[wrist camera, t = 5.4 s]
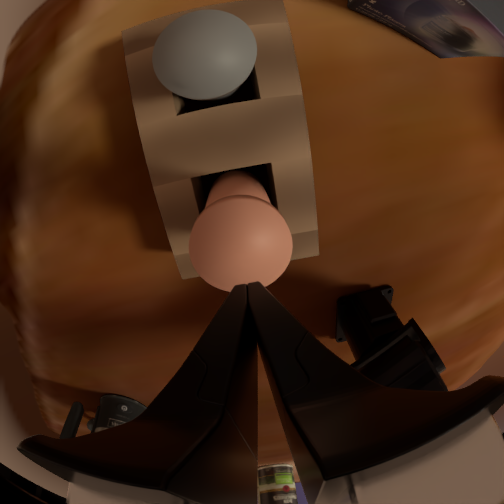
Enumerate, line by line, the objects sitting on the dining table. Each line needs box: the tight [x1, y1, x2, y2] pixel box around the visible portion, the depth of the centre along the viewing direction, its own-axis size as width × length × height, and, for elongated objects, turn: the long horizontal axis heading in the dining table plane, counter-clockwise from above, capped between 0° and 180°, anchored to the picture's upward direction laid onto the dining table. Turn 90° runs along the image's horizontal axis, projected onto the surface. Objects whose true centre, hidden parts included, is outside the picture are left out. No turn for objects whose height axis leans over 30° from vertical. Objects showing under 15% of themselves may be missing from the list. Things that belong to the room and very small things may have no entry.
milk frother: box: [60, 395, 147, 439], centre depth 30 cm, size 14×16×15 cm
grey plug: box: [152, 9, 257, 103], centre depth 13 cm, size 5×5×8 cm
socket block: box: [122, 0, 319, 279], centre depth 17 cm, size 18×10×4 cm, turn 10°
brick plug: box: [189, 170, 293, 292], centre depth 15 cm, size 5×5×8 cm
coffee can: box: [257, 464, 298, 504], centre depth 49 cm, size 10×10×14 cm
